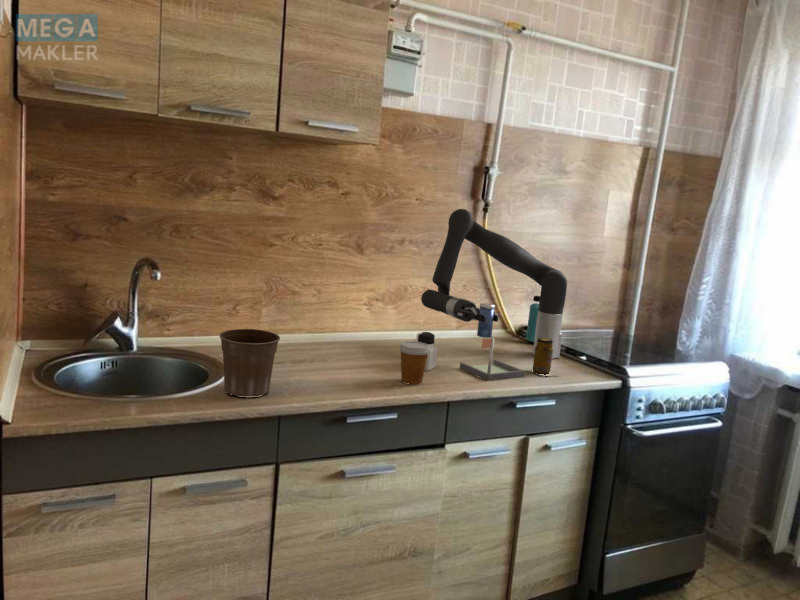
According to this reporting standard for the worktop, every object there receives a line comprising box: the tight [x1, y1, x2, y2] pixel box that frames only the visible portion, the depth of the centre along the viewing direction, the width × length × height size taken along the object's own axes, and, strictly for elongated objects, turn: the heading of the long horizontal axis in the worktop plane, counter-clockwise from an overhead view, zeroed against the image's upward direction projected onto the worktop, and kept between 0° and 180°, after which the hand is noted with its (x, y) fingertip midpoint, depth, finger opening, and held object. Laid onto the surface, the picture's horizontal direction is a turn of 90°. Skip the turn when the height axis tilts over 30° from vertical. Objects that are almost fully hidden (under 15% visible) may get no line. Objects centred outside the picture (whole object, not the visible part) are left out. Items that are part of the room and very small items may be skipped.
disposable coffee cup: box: [398, 340, 430, 385], centre depth 209 cm, size 10×10×12 cm
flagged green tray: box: [459, 337, 526, 382], centre depth 227 cm, size 15×20×14 cm
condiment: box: [527, 338, 553, 378], centre depth 233 cm, size 7×8×12 cm
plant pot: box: [219, 328, 281, 397], centre depth 186 cm, size 16×16×16 cm
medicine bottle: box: [415, 331, 439, 372], centre depth 227 cm, size 7×7×12 cm
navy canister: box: [476, 302, 496, 339], centre depth 231 cm, size 5×5×11 cm
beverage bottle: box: [525, 295, 540, 342], centre depth 278 cm, size 6×7×20 cm
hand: (491, 319), depth 229 cm, fingers closed on navy canister, 5 cm apart
